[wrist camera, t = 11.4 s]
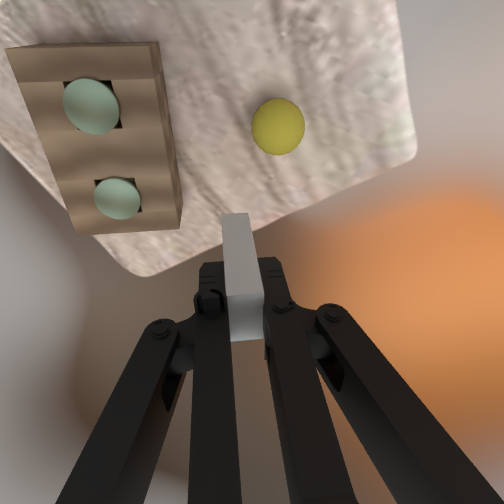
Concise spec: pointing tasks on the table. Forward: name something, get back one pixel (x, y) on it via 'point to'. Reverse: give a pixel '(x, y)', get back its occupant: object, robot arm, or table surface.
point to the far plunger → (117, 197)
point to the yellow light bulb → (278, 126)
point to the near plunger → (91, 105)
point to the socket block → (109, 144)
